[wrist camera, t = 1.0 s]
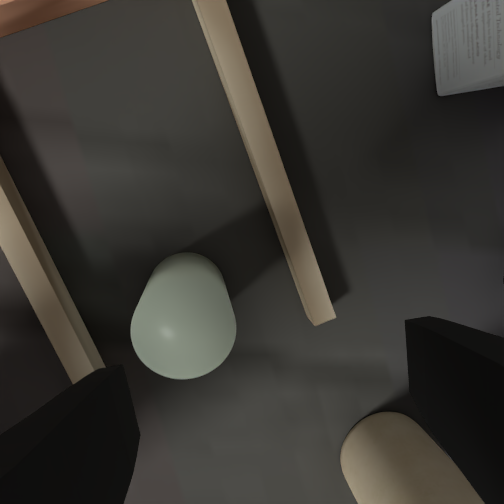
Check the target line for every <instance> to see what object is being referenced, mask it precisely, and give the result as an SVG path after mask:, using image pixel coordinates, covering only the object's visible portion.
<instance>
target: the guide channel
mask: <svg viewBox="0 0 504 504" xmlns="http://www.w3.org/2000/svg"><path fill="white" fill-rule="evenodd" d="M105 1H108V0H0V38H1V37H4V36H6V35H9V34H12V33H15V32H18V31H21V30H24V29H27V28H30V27H33V26H35V25H38V24H41V23H44V22H47V21H50V20H53V19H56V18H59V17H62V16H64V15H67V14H70V13H73V12H76V11H79V10H82V9H85V8H88V7H91V6H93V5H96V4H99V3H102V2H105ZM192 2H193V5H194V8H195V10H196V13H197V16H198V19H199V21H200V24H201V27H202V30H203V32H204V35H205V38H206V41H207V43H208V46H209V49H210V51H211V54H212V57H213V60H214V62H215V65H216V68H217V71H218V73H219V76H220V79H221V82H222V84H223V87H224V90H225V93H226V95H227V98H228V101H229V104H230V106H231V109H232V112H233V115H234V117H235V120H236V123H237V126H238V128H239V131H240V134H241V137H242V139H243V142H244V145H245V148H246V150H247V153H248V156H249V158H250V161H251V164H252V167H253V169H254V172H255V175H256V178H257V180H258V183H259V186H260V189H261V191H262V194H263V197H264V200H265V202H266V205H267V208H268V211H269V213H270V216H271V219H272V222H273V224H274V227H275V230H276V233H277V235H278V238H279V241H280V244H281V246H282V249H283V252H284V254H285V257H286V260H287V263H288V265H289V268H290V271H291V274H292V276H293V279H294V282H295V285H296V287H297V290H298V293H299V296H300V298H301V301H302V304H303V307H304V309H305V312H306V315H307V317H308V318H309V320H310V321H311V322H312V323H313V324H314V326H317V325H319V324H322V323H324V322H326V321H329V320H331V319H334V318H336V316H335V313H334V310H333V307H332V304H331V301H330V298H329V295H328V293H327V290H326V287H325V284H324V281H323V278H322V275H321V272H320V270H319V267H318V264H317V261H316V258H315V255H314V252H313V249H312V247H311V244H310V241H309V238H308V235H307V232H306V229H305V226H304V224H303V221H302V218H301V215H300V212H299V209H298V206H297V203H296V201H295V198H294V195H293V192H292V189H291V186H290V183H289V180H288V178H287V175H286V172H285V169H284V166H283V163H282V160H281V157H280V155H279V152H278V149H277V146H276V143H275V140H274V137H273V134H272V132H271V129H270V126H269V123H268V120H267V117H266V114H265V111H264V109H263V106H262V103H261V100H260V97H259V94H258V91H257V88H256V86H255V83H254V80H253V77H252V74H251V71H250V68H249V65H248V63H247V60H246V57H245V54H244V51H243V48H242V45H241V42H240V40H239V37H238V34H237V31H236V28H235V25H234V22H233V19H232V17H231V14H230V11H229V8H228V5H227V2H226V0H192ZM0 246H1V248H2V250H3V252H4V254H5V255H6V257H7V259H8V261H9V263H10V265H11V267H12V269H13V271H14V273H15V275H16V276H17V278H18V280H19V282H20V284H21V286H22V288H23V290H24V292H25V294H26V296H27V297H28V299H29V301H30V303H31V305H32V307H33V309H34V311H35V313H36V315H37V317H38V319H39V320H40V322H41V324H42V326H43V328H44V330H45V332H46V334H47V336H48V338H49V340H50V341H51V343H52V345H53V347H54V349H55V351H56V353H57V355H58V357H59V359H60V361H61V362H62V364H63V366H64V368H65V370H66V372H67V374H68V376H69V378H70V380H71V382H72V383H73V384H75V383H76V382H78V381H79V380H81V379H82V378H83V377H85V376H87V375H88V374H90V373H91V372H93V371H95V370H97V369H99V368H105V365H104V362H103V360H102V358H101V356H100V354H99V352H98V350H97V348H96V346H95V344H94V342H93V340H92V338H91V336H90V334H89V332H88V330H87V328H86V326H85V324H84V322H83V320H82V318H81V316H80V314H79V312H78V310H77V308H76V306H75V304H74V302H73V300H72V298H71V296H70V294H69V292H68V290H67V288H66V286H65V284H64V282H63V280H62V278H61V276H60V274H59V272H58V270H57V268H56V266H55V264H54V262H53V260H52V258H51V256H50V254H49V252H48V250H47V248H46V246H45V244H44V242H43V240H42V238H41V236H40V234H39V232H38V230H37V228H36V226H35V224H34V222H33V220H32V218H31V216H30V214H29V212H28V210H27V208H26V206H25V204H24V202H23V200H22V198H21V196H20V194H19V192H18V190H17V188H16V186H15V184H14V182H13V180H12V178H11V176H10V174H9V172H8V170H7V168H6V166H5V164H4V162H3V160H2V158H1V156H0Z"/></svg>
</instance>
